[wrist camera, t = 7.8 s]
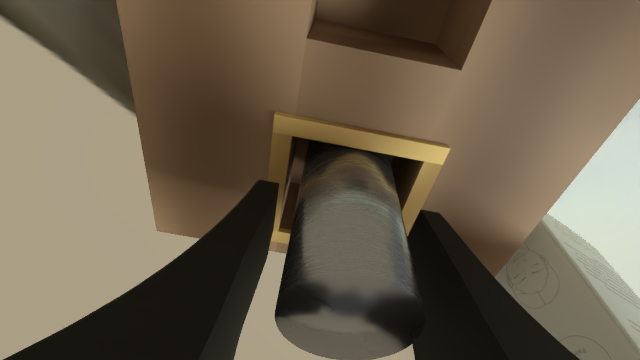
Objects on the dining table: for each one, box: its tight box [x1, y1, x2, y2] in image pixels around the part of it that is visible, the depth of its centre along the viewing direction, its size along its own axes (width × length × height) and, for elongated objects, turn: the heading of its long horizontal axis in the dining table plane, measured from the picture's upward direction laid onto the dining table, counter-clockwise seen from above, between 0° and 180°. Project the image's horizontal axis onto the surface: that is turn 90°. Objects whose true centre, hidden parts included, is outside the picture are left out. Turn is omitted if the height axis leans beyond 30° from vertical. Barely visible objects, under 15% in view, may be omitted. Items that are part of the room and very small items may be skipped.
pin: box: [275, 139, 425, 360], centre depth 10 cm, size 3×3×8 cm
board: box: [116, 0, 640, 277], centre depth 11 cm, size 14×14×4 cm
